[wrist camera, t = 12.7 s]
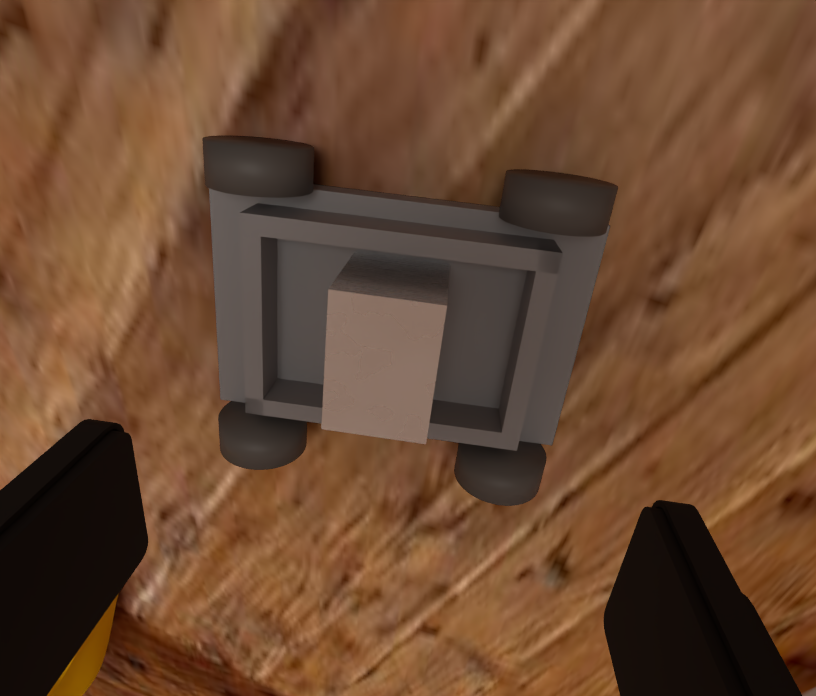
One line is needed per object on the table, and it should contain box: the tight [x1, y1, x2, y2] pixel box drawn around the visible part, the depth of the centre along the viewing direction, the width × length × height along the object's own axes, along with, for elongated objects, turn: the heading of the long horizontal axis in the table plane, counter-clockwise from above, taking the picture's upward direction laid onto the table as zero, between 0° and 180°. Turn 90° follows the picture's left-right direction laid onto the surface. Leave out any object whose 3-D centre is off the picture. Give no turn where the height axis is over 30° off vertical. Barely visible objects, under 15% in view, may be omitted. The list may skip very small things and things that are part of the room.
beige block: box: [321, 252, 450, 444], centre depth 27 cm, size 5×7×6 cm
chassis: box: [203, 136, 618, 506], centre depth 28 cm, size 20×17×5 cm
